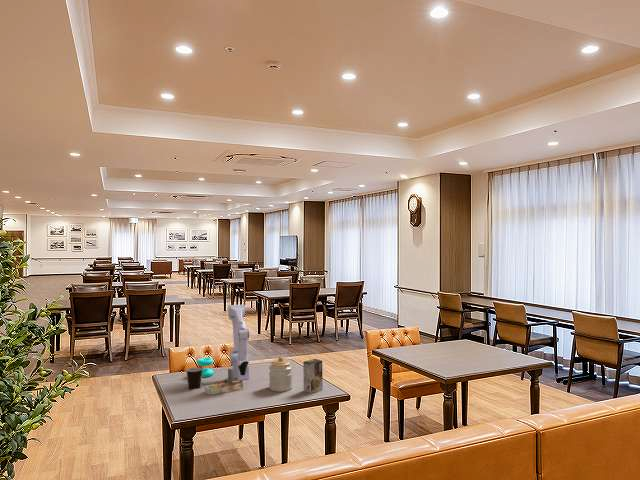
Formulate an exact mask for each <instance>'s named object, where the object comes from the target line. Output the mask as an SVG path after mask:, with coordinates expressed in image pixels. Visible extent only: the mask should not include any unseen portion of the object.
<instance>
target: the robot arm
mask: <svg viewBox="0 0 640 480" xmlns="http://www.w3.org/2000/svg"><path fill="white" fill-rule="evenodd" d="M245 314H246V305H245V304H243V303H242V304H230V305H228V307H227V315H228V320H230V321H231V323H232V333H233V334H232V336H233V348H231V350H230V351H229V363H230V364H231V366H232V367H231V369H232V370H234V378H238V381H244V380H248V379H250V365H249V363H250V362H249V360H250V355H249V340H250V331H249V328H247V325H246V322H245V320H244V318H245V316H246V315H245Z"/></svg>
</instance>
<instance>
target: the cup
mask: <svg viewBox="0 0 640 480" xmlns="http://www.w3.org/2000/svg"><path fill="white" fill-rule="evenodd" d="M215 384H216V383H214V384H209V385H205V386H204V392H205V393H206V394H207V395H209V396H211V395H212V396H213V395H216V394H222V393H221V387H218V388H213V389H212V387H213V385H215Z"/></svg>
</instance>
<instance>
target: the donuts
mask: <svg viewBox="0 0 640 480" xmlns="http://www.w3.org/2000/svg"><path fill="white" fill-rule="evenodd" d="M213 363H214V359H213V358H212V357H201V358H198V359H197V360H196V364H197V365H198V366H200V367H205V368H202V377H201V378H208V377H209V378H210V377H212V376H213V375H214V370H213V369H212V368H209V367H208V366H211V365H213ZM206 367H207V368H206Z"/></svg>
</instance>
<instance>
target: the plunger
mask: <svg viewBox="0 0 640 480" xmlns="http://www.w3.org/2000/svg"><path fill="white" fill-rule="evenodd" d="M224 380H225V383H231V382H232V381H234V370H232V368H227V378H225V379H224Z"/></svg>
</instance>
